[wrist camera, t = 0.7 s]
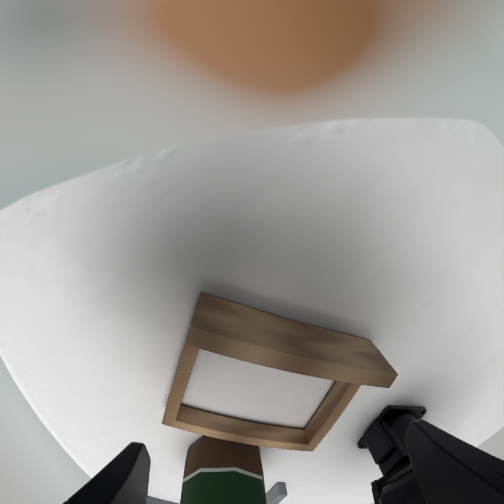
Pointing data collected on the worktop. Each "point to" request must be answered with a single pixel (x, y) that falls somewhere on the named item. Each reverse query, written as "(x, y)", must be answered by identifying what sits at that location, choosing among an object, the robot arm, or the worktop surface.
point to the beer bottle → (223, 473)
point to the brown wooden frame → (279, 357)
